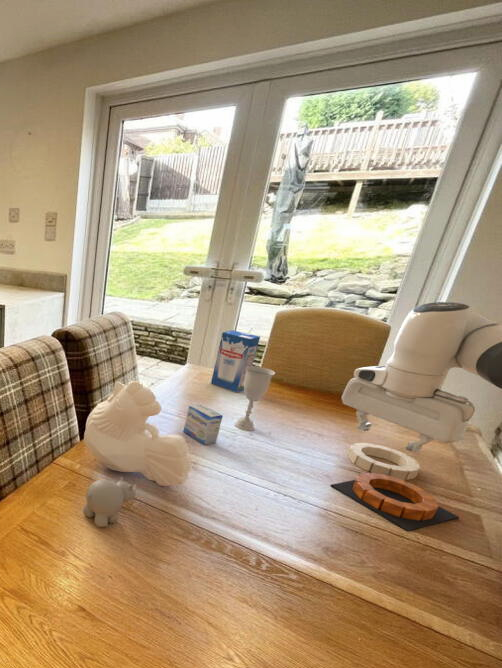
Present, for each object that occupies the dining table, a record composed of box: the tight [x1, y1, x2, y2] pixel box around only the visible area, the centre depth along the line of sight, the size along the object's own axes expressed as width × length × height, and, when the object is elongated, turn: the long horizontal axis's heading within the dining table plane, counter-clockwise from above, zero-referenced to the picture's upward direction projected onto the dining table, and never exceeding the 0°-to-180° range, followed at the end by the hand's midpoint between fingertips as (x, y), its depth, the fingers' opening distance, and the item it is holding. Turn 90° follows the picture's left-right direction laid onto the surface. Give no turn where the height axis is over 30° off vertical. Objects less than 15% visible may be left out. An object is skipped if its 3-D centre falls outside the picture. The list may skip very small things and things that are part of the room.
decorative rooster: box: [83, 380, 192, 487], centre depth 90 cm, size 25×16×25 cm
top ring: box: [353, 472, 439, 521], centre depth 86 cm, size 13×13×2 cm
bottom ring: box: [346, 442, 421, 481], centre depth 99 cm, size 13×13×2 cm
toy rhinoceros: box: [82, 476, 137, 528], centre depth 81 cm, size 7×12×8 cm, turn 114°
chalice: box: [234, 365, 276, 432], centre depth 115 cm, size 7×7×18 cm
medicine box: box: [182, 403, 224, 446], centre depth 110 cm, size 8×4×9 cm, turn 21°
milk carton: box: [210, 329, 261, 393], centre depth 143 cm, size 10×6×20 cm, turn 30°
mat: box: [330, 479, 460, 533], centre depth 86 cm, size 15×15×1 cm
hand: (386, 439), depth 86 cm, fingers open, 8 cm apart
